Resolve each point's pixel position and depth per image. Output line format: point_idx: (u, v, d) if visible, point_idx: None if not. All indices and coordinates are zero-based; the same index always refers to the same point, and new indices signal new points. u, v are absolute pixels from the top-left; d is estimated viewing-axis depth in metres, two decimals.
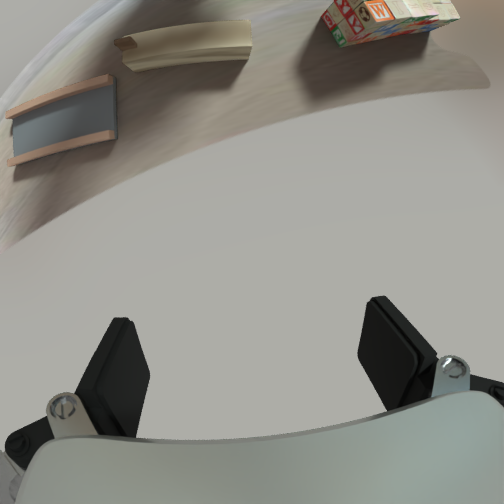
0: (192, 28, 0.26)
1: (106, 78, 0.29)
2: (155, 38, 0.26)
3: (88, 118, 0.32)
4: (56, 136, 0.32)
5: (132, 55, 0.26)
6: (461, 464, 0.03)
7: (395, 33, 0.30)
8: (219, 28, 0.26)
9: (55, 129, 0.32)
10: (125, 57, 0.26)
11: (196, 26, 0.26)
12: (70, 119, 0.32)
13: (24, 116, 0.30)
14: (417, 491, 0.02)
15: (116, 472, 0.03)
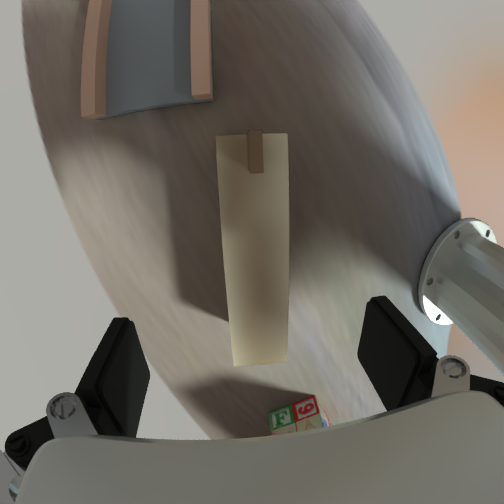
0: (275, 280, 0.18)
1: (200, 91, 0.16)
2: (262, 208, 0.16)
3: (137, 59, 0.16)
4: (125, 3, 0.14)
5: (228, 159, 0.15)
6: (461, 464, 0.03)
7: None
8: (271, 323, 0.19)
9: None
10: (227, 143, 0.15)
11: (280, 287, 0.18)
12: (147, 25, 0.15)
13: None
14: (417, 491, 0.02)
15: (116, 472, 0.03)
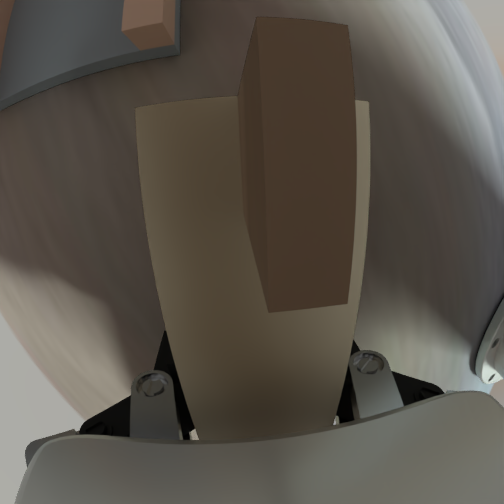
0: None
1: (141, 21, 0.05)
2: (288, 324, 0.06)
3: (51, 2, 0.06)
4: None
5: (179, 183, 0.05)
6: (461, 464, 0.03)
7: None
8: None
9: None
10: (172, 128, 0.04)
11: None
12: None
13: None
14: (417, 491, 0.02)
15: (116, 472, 0.03)
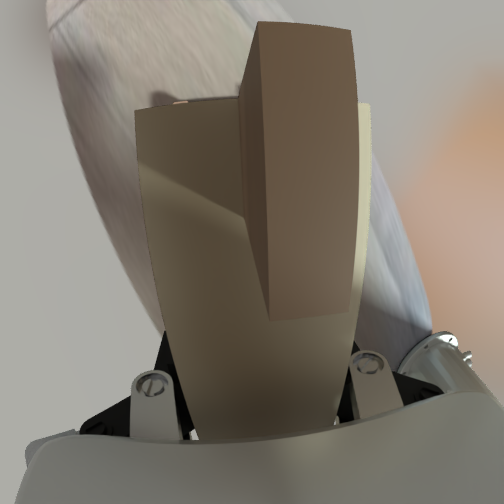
0: None
1: None
2: (288, 327, 0.06)
3: None
4: None
5: (179, 187, 0.05)
6: (461, 464, 0.03)
7: None
8: None
9: None
10: (172, 131, 0.04)
11: None
12: None
13: None
14: (417, 491, 0.02)
15: (116, 472, 0.03)
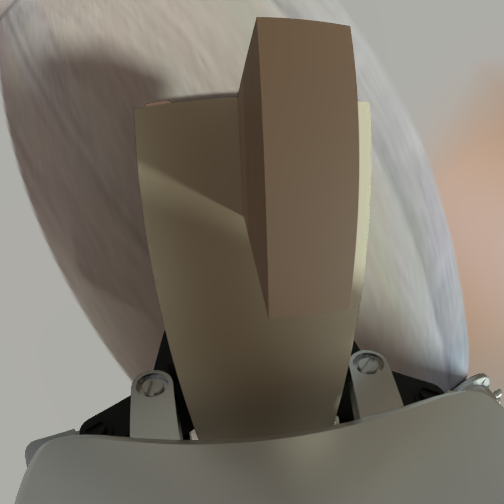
0: None
1: None
2: (288, 326, 0.06)
3: None
4: None
5: (179, 185, 0.04)
6: (461, 464, 0.03)
7: None
8: None
9: None
10: (171, 129, 0.04)
11: None
12: None
13: None
14: (417, 491, 0.02)
15: (116, 472, 0.03)
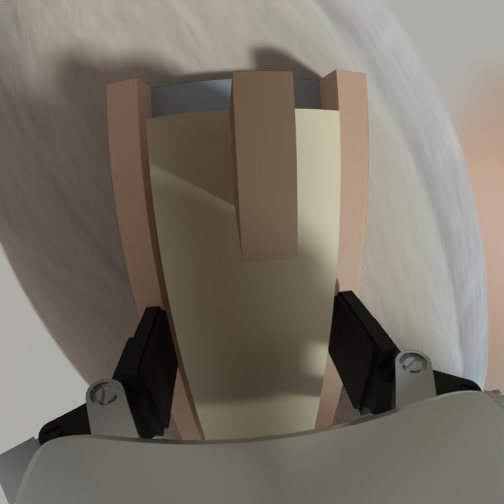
0: (293, 413, 0.08)
1: None
2: (273, 300, 0.07)
3: None
4: None
5: (182, 181, 0.06)
6: (461, 464, 0.03)
7: None
8: None
9: None
10: (176, 136, 0.05)
11: (301, 420, 0.09)
12: None
13: None
14: (417, 491, 0.02)
15: (116, 472, 0.03)
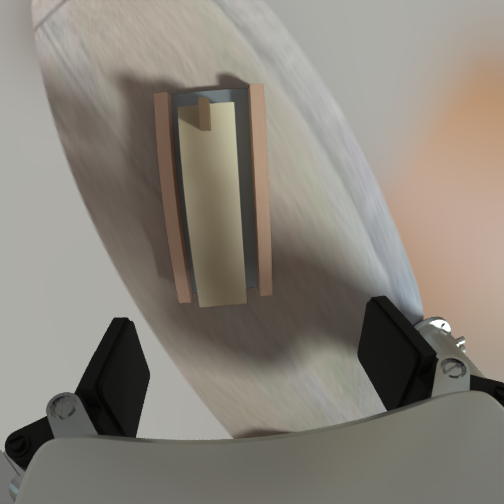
0: (229, 223, 0.21)
1: (265, 293, 0.29)
2: (215, 161, 0.20)
3: None
4: None
5: (188, 124, 0.18)
6: (461, 464, 0.03)
7: None
8: (229, 263, 0.23)
9: None
10: (186, 112, 0.18)
11: (234, 229, 0.22)
12: None
13: (243, 120, 0.24)
14: (417, 491, 0.02)
15: (116, 472, 0.03)
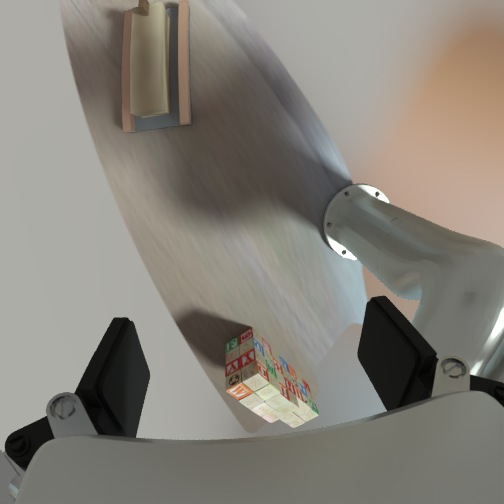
0: (153, 57, 0.27)
1: (184, 121, 0.34)
2: (149, 28, 0.26)
3: None
4: None
5: (137, 14, 0.25)
6: (461, 464, 0.03)
7: None
8: (151, 81, 0.29)
9: None
10: (137, 9, 0.24)
11: (156, 60, 0.28)
12: None
13: (176, 22, 0.30)
14: (417, 491, 0.02)
15: (116, 472, 0.03)
